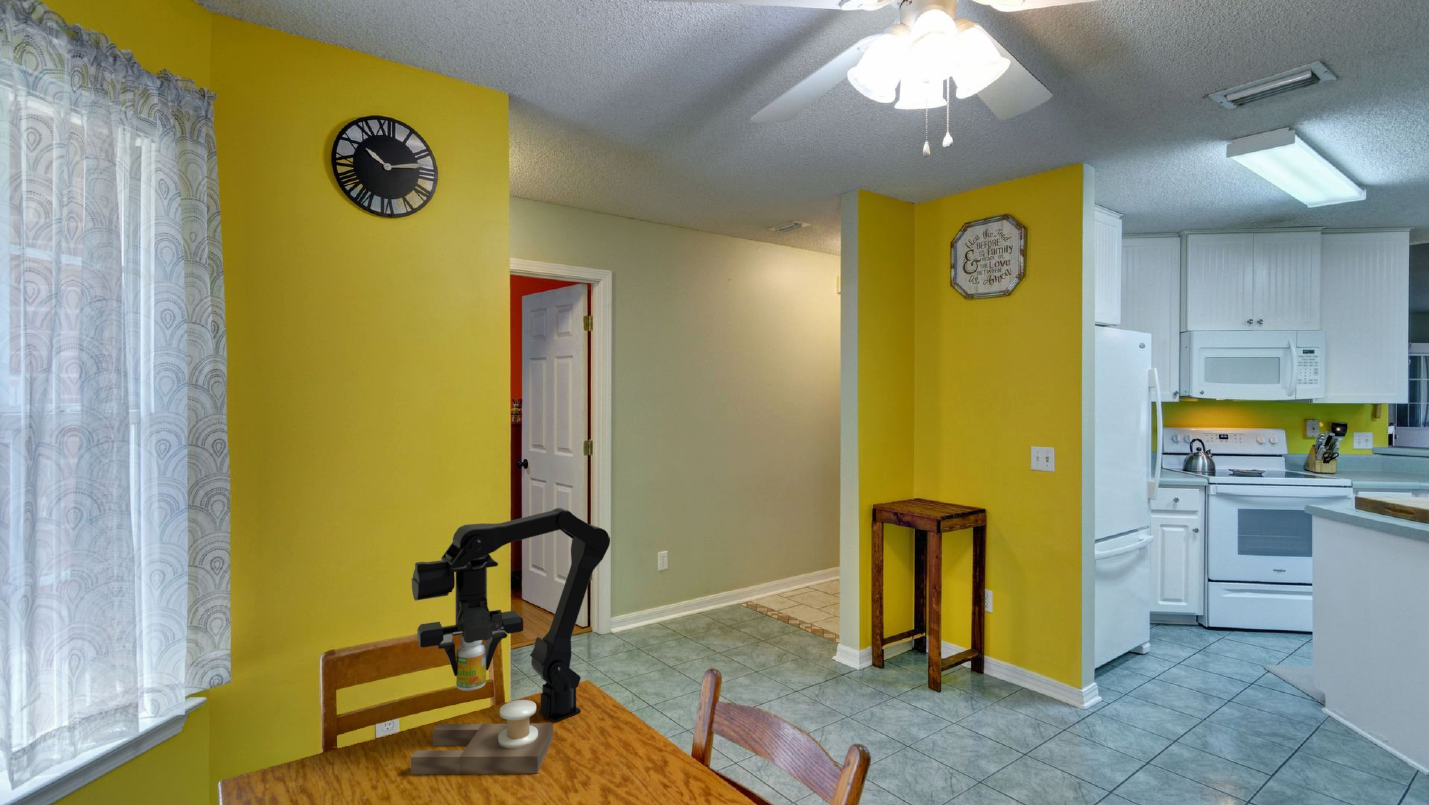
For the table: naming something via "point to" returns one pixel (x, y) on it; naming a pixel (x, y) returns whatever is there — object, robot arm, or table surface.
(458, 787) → the table surface
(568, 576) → the robot arm
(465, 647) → the supplement bottle
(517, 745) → the bobbin
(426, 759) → the notched board
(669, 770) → the table surface
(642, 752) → the table surface
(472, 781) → the table surface
